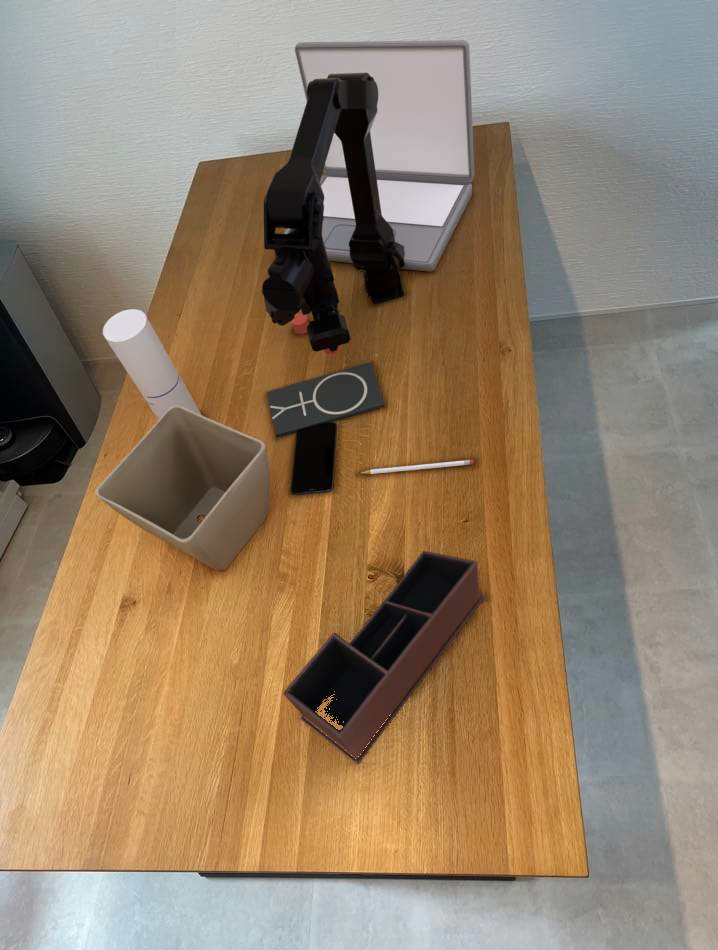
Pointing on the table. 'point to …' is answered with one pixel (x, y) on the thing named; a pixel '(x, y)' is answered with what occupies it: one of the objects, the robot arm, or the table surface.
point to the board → (324, 399)
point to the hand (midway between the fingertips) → (332, 343)
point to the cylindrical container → (147, 362)
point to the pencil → (419, 467)
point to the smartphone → (314, 459)
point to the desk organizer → (386, 653)
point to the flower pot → (193, 486)
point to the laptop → (403, 142)
